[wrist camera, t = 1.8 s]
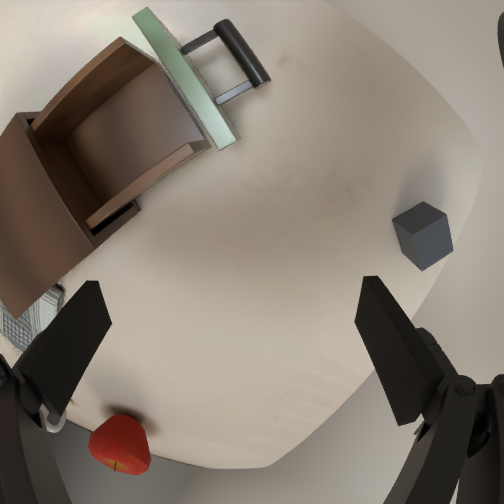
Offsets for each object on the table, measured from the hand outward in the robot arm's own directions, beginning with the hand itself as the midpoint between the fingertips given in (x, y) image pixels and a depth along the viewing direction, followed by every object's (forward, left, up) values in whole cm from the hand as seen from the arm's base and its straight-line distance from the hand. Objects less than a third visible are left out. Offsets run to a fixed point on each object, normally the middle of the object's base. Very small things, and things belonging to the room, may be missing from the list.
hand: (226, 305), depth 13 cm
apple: (+40, +15, -15) cm, 45 cm away
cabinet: (+13, -14, -14) cm, 24 cm away
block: (-14, +13, -14) cm, 24 cm away
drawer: (-1, -12, -14) cm, 18 cm away
